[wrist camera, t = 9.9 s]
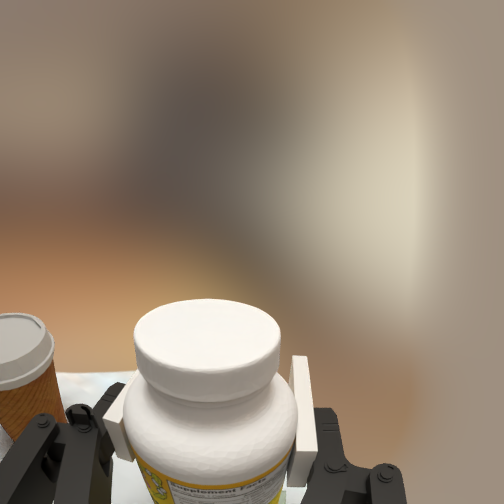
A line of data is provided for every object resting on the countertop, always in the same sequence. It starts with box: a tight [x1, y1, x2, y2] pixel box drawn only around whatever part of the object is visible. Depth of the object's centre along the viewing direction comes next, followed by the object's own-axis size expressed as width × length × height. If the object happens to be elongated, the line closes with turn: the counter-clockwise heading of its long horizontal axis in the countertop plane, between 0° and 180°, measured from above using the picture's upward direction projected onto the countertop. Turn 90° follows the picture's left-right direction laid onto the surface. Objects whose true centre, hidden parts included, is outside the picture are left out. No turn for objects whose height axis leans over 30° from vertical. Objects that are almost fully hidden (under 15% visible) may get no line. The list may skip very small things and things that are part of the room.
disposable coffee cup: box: [0, 313, 67, 442], centre depth 18 cm, size 10×10×12 cm
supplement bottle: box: [123, 299, 298, 504], centre depth 11 cm, size 7×7×13 cm
